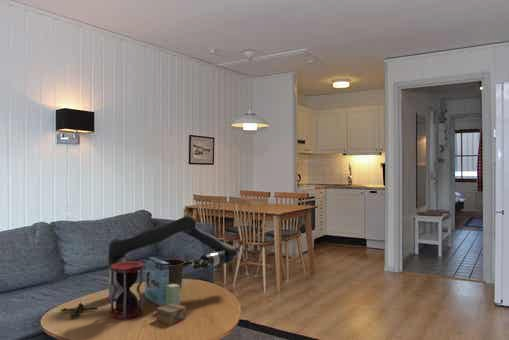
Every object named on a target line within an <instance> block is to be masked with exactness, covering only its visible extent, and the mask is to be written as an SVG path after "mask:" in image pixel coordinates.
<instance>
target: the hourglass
mask: <svg viewBox="0 0 509 340" xmlns="http://www.w3.org/2000/svg"><path fill="white" fill-rule="evenodd" d="M143 268H144V263H142V262H140V261H126V262H119V263H115V264H112V265H111V266H110V270H111V284H112V286H113V287H114V293H113V294H112V296H111V300H110V312H109V316H110V317H111V318H112V319H115V320H131V319H135V318H137V317H140V316H141V315H143V313H144V308H143V294H142V292H141V290H140V288H141V285H142V284H143V280H144V279H143V277H144V275H143V273H144V272H143V271H144V269H143ZM114 271H115V272H116V280H117V282H118V283H119V285H121V286H122V287H123V288H124V291H123V292H122V293H121V294H120V295H119V297H118V298H117V300H115V301H116V302H115V308H114V300H113V297H114V295H115V294H116V292H117V287H116V286H115V285H114V282H113V276H114ZM139 271H140V272H139ZM139 275H140V276H139ZM138 277H139V278H140V279H139V280H140V281H139V283H138V284H137V285H136V291H137V293H138V294H139V295H138V296H139V302H138V297H137V296H136V295H135V293H133V291H132V290H131V288H132V287H133V285H134V284H135V283H136V282H137V280H138ZM138 303H139V304H138Z"/></svg>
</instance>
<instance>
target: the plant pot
mask: <svg viewBox="0 0 509 340" xmlns="http://www.w3.org/2000/svg"><path fill="white" fill-rule="evenodd" d="M161 260H162V259H161ZM162 261H165V262H167V263H169V285H170V284H177V285H180V289H181V288H182V285H183V275H184V274H183V273H184V272H183V271H184V268H185V267H184V266H183V263H184V262H186V261H185V260H183V259H177V258H171V259H164V260H162Z"/></svg>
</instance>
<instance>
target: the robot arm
mask: <svg viewBox="0 0 509 340" xmlns="http://www.w3.org/2000/svg"><path fill="white" fill-rule="evenodd" d="M181 232H182V233H184V234H186V235H187V236H190V237H192V238H193V239H195V240H197V241H199V242H201V243H202V244H204V245H205V246H207V247H208V248H209V249H210V250H212V251H214V252H210V253H206V254H205V253H204V254H203V255H201V256H200V258H190V259H186V261H185V262H184V263H183V266H184V268H185V267H189V266H192V268H193V270H197V269H208V268H211V267H214V266H216V265H220V264H230V263H231V262H232V261H233V260H234V259H235V258H236V256H237V255H238V250H237V248H236V247H234V246H233V245H230V244H228V243H225V242H222V241H221V240H220V239H219V238H217V237H216V236H214V235H212V234H209V233H208V232H205V231H203V230H201V229H200V228H198V226H197V220H196V218H195V217H194V216H192V215H191V216H190V215H185V216H183V217H181V218H178V219H176V220H174V221H171V222H169V223H163V224H160V225H157V226H154V227H150V228H148V229H145V230H144V231H141V232H140V233H138V234H136V235H134V236H132V237H130V238H125V239H121V238H119V237H118V238H114V239H112V240H111V241H110V242H109V244H108V300H110V301H111V296H112V294H113V293H114V287H113V286H112V284H111V270H110V266H111V265H112V264H115V263H119V262H127V258H126V254H128V253H131V252H133V251H135V250H138V249H141V248H146V247H149V246H151V245H154V244H157V243H160V242H163V241H165V240H166V239H168V238H171V236H173V235H175V234H176V235H177V234H178V233H181ZM113 282H114V285H115V286H116V287H117V292H116V294H115V295H114V297H113V301H114V300H115V301H116V300H117V298H118V297H119V295H120V294H121V293H122V292H123V291H124V288H123V287H122V286H121V285H119V283H118V282H117V280H116V272H115V271H114V276H113Z"/></svg>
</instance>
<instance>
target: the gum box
mask: <svg viewBox="0 0 509 340" xmlns="http://www.w3.org/2000/svg"><path fill="white" fill-rule="evenodd" d="M144 279H145V281H144V282H145V285H144V287H145V288H144V290H145V291H144V297H145V298H146V299H147V300H149V301H151V302H152V303H154V304H155V305H158V306H159V307H161V306H164V305H166V286H167V285H169V263H167V262H165V261H162V259H160V258H157V257H155V256H148V257H146V258H145V278H144Z"/></svg>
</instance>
